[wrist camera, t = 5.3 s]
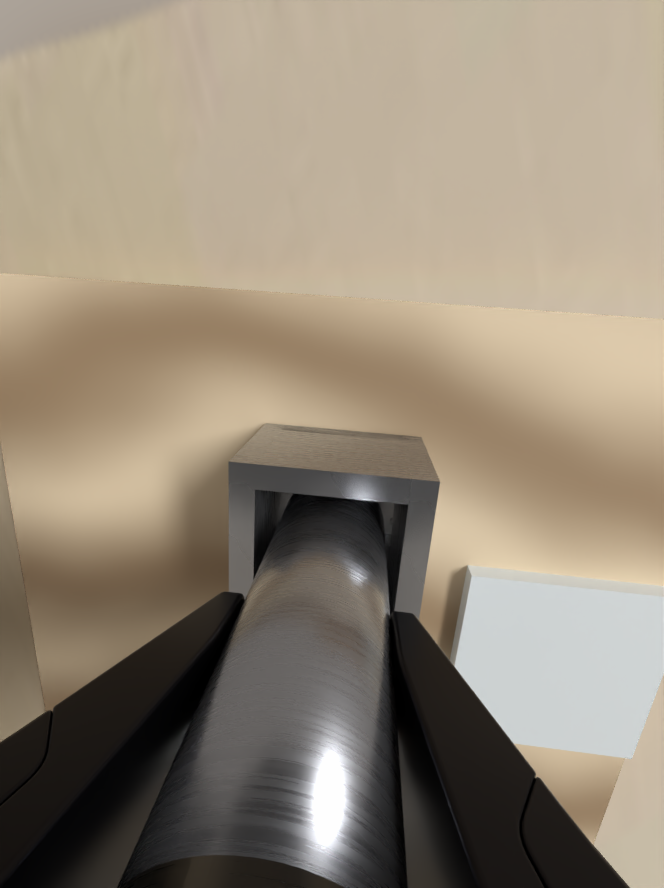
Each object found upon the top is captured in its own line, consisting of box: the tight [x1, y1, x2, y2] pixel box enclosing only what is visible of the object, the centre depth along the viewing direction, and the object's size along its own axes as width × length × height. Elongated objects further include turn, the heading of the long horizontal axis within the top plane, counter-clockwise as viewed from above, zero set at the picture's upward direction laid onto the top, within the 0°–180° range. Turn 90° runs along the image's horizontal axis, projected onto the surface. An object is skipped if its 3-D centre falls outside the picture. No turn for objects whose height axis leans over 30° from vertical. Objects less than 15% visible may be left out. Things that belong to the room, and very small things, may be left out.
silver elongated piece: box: [228, 423, 440, 620], centre depth 12 cm, size 16×7×6 cm, turn 176°
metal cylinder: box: [117, 493, 408, 888], centre depth 7 cm, size 3×3×10 cm
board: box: [0, 273, 664, 844], centre depth 15 cm, size 20×22×2 cm
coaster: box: [450, 565, 664, 759], centre depth 14 cm, size 6×6×1 cm
